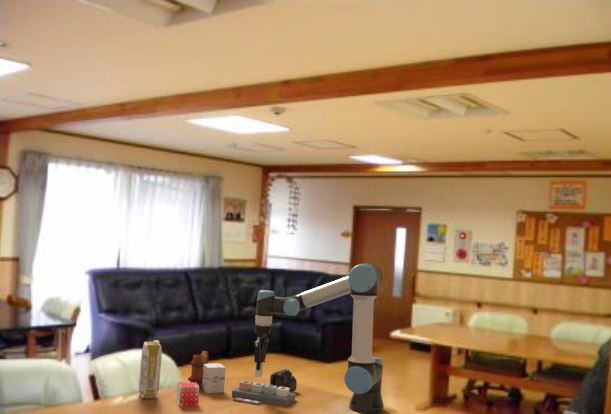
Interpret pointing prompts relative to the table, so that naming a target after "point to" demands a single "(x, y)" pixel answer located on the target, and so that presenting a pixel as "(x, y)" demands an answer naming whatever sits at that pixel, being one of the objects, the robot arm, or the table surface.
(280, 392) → the key ivory
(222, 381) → the ink box
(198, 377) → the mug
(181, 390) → the small box
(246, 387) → the key terracotta
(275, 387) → the key slate
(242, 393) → the keypad base
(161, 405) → the table surface
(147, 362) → the juice carton
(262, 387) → the key sage
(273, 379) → the camera
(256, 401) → the tile
